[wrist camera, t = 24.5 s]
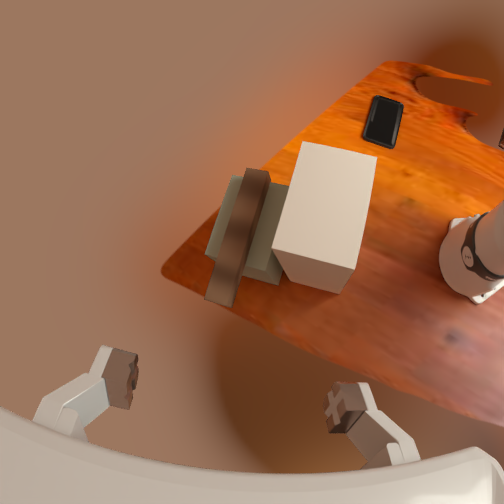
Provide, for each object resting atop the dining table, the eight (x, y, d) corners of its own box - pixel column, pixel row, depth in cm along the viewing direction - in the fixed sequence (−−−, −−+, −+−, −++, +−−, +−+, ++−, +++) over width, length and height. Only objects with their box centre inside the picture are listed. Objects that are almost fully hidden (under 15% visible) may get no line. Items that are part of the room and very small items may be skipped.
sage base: (278, 285, 62) (265, 271, 47) (231, 272, 65) (204, 254, 49) (297, 219, 64) (290, 186, 49) (251, 209, 67) (232, 174, 52)
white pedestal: (339, 294, 59) (354, 269, 34) (290, 281, 62) (271, 247, 37) (356, 222, 62) (377, 157, 37) (309, 211, 64) (302, 141, 40)
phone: (404, 103, 65) (394, 148, 63) (403, 106, 66) (393, 151, 64) (374, 94, 67) (361, 137, 65) (374, 96, 68) (361, 140, 66)
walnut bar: (232, 307, 46) (226, 306, 44) (210, 301, 47) (203, 299, 44) (271, 180, 50) (268, 171, 47) (250, 176, 51) (246, 167, 48)
